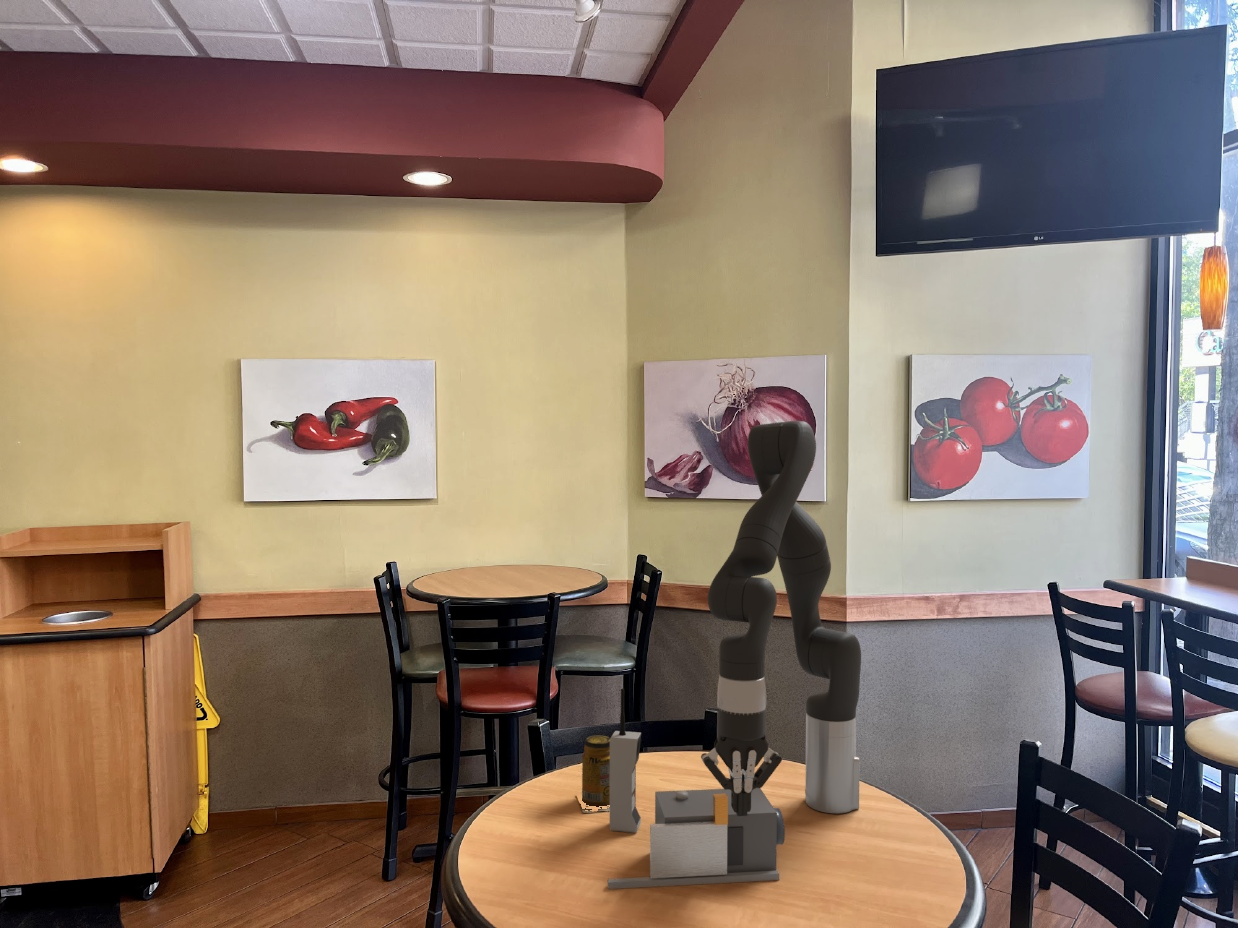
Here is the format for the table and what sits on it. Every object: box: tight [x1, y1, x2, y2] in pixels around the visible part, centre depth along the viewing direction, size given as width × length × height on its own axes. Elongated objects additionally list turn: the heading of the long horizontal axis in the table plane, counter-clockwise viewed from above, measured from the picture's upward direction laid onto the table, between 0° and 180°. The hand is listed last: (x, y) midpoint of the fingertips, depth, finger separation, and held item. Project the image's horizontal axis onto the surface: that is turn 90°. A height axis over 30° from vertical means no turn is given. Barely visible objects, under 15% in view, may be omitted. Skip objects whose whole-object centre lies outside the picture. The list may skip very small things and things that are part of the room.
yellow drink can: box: [579, 734, 611, 814], centre depth 162 cm, size 7×8×12 cm
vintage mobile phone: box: [609, 688, 642, 834], centre depth 151 cm, size 4×5×25 cm
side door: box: [649, 794, 728, 878], centre depth 132 cm, size 12×2×12 cm, turn 96°
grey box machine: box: [607, 788, 786, 890], centre depth 138 cm, size 29×12×11 cm, turn 96°
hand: (740, 813), depth 133 cm, fingers closed
